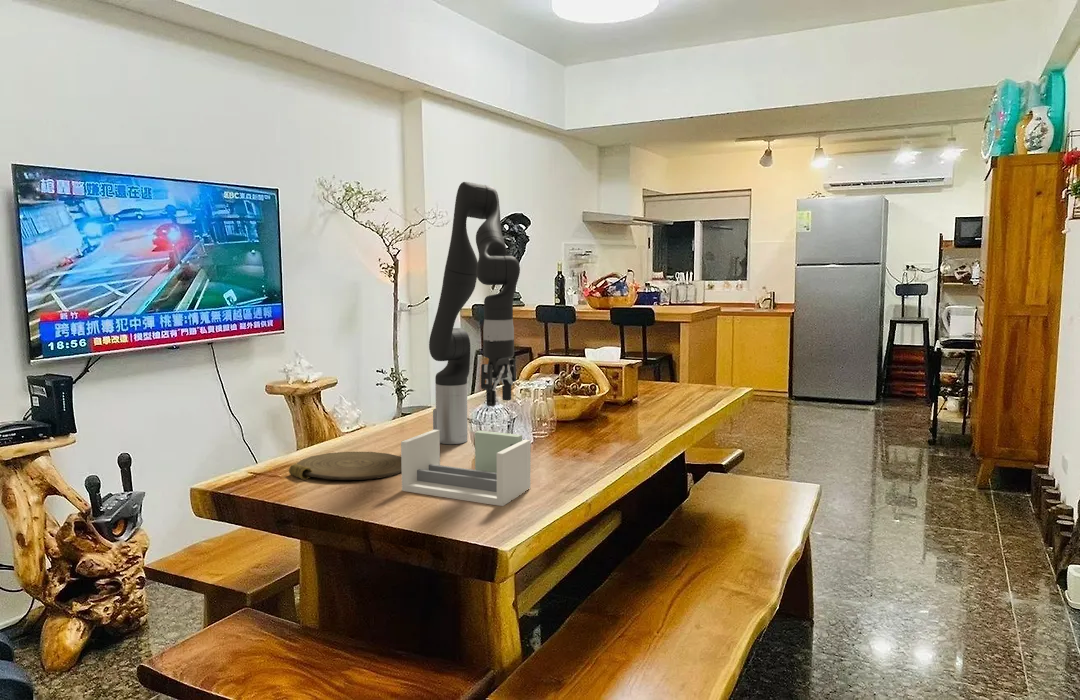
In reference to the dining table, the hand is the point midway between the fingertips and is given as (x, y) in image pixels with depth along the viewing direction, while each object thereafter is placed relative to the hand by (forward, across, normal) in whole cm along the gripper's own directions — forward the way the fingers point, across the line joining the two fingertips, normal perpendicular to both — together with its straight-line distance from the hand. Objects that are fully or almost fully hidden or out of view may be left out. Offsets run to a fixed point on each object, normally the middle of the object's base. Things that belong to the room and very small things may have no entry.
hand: (499, 403), depth 184 cm
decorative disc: (+18, +12, -36) cm, 42 cm away
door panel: (+18, 0, 0) cm, 18 cm away
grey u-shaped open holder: (+18, +16, 0) cm, 24 cm away
